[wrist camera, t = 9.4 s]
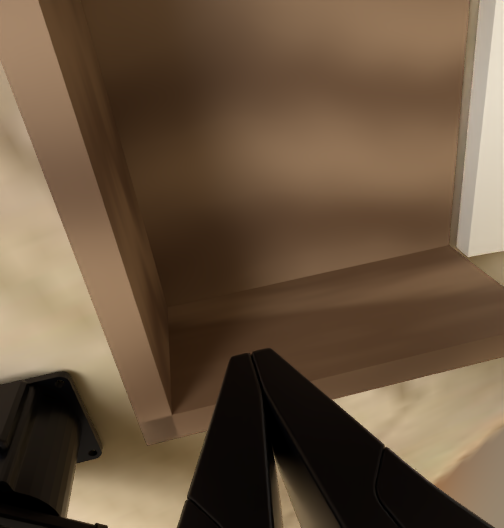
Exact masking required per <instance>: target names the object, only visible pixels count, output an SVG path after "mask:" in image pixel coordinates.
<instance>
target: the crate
mask: <svg viewBox="0 0 504 528" xmlns="http://www.w3.org/2000/svg"><path fill="white" fill-rule="evenodd" d="M469 4H470V0H0V60H1V63H2V65H3V68H4V71H5V73H6V76H7V79H8V81H9V84H10V86H11V89H12V92H13V94H14V97H15V100H16V102H17V105H18V108H19V110H20V113H21V115H22V118H23V121H24V123H25V126H26V129H27V131H28V134H29V136H30V139H31V142H32V144H33V147H34V150H35V152H36V155H37V158H38V160H39V163H40V165H41V168H42V171H43V173H44V176H45V179H46V181H47V184H48V186H49V189H50V192H51V194H52V197H53V200H54V202H55V205H56V208H57V210H58V213H59V215H60V218H61V221H62V223H63V226H64V229H65V231H66V234H67V236H68V239H69V242H70V244H71V247H72V250H73V252H74V255H75V258H76V260H77V263H78V265H79V268H80V271H81V273H82V276H83V279H84V281H85V284H86V286H87V289H88V292H89V294H90V297H91V300H92V302H93V305H94V308H95V310H96V313H97V315H98V318H99V321H100V323H101V326H102V329H103V331H104V334H105V336H106V339H107V342H108V344H109V347H110V350H111V352H112V355H113V358H114V360H115V363H116V365H117V368H118V371H119V373H120V376H121V379H122V381H123V384H124V386H125V389H126V392H127V394H128V397H129V400H130V402H131V405H132V408H133V410H134V413H135V415H136V418H137V421H138V423H139V426H140V429H141V431H142V434H143V436H144V439H145V442H146V444H147V446H148V445H152V444H156V443H160V442H164V441H168V440H172V439H176V438H180V437H184V436H188V435H192V434H196V433H200V432H204V431H207V430H208V427H209V424H210V421H211V418H212V414H213V411H214V408H215V405H216V401H217V398H218V395H219V392H220V389H221V385H222V382H223V379H224V376H225V372H226V369H227V366H228V363H229V360H230V358H231V357H232V356H235V355H239V354H243V353H250V354H252V352H253V351H256V350H260V349H265V348H272V349H273V350H274V351H275V352H276V353H278V354H279V355H280V356H281V357H282V358H284V359H285V360H286V361H287V362H288V363H289V364H291V365H292V366H293V367H294V368H295V369H296V370H298V371H299V372H300V373H301V374H302V375H303V376H305V377H306V378H307V379H308V380H309V381H310V382H312V383H313V384H314V385H315V386H316V387H317V388H319V389H320V390H321V391H322V392H323V393H324V394H326V395H327V396H328V397H329V398H330V399H331V400H332V399H336V398H340V397H344V396H348V395H352V394H356V393H360V392H364V391H368V390H372V389H376V388H380V387H384V386H388V385H392V384H396V383H400V382H404V381H408V380H412V379H416V378H420V377H424V376H428V375H432V374H436V373H440V372H444V371H448V370H452V369H456V368H461V367H465V366H469V365H473V364H477V363H481V362H485V361H489V360H493V359H497V358H501V357H504V287H503V286H502V285H500V284H499V283H498V282H496V281H495V280H494V279H492V278H491V277H490V276H489V275H487V274H486V273H485V272H483V271H482V270H481V269H479V268H478V267H477V266H475V265H474V264H473V263H471V262H470V261H469V260H468V259H466V258H465V257H464V256H462V255H461V254H460V253H458V252H457V251H456V250H454V249H453V248H452V247H451V246H449V237H450V225H451V213H452V202H453V190H454V179H455V167H456V155H457V144H458V132H459V120H460V109H461V97H462V85H463V74H464V62H465V50H466V39H467V27H468V15H469Z"/></svg>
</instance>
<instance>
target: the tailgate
mask: <svg viewBox="0 0 504 528" xmlns="http://www.w3.org/2000/svg"><path fill="white" fill-rule="evenodd" d="M456 247H457V248H458V249H459V250H460V251H461V252H462V253H463V254H465V255H466V256H467V257H472V256H477V255H483V254H489V253H494V252H500V251H504V0H480V3H479V13H478V24H477V34H476V45H475V55H474V66H473V76H472V87H471V97H470V108H469V118H468V129H467V139H466V150H465V160H464V171H463V181H462V192H461V202H460V213H459V223H458V234H457V244H456Z"/></svg>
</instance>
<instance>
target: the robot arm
mask: <svg viewBox="0 0 504 528" xmlns="http://www.w3.org/2000/svg"><path fill="white" fill-rule="evenodd" d="M58 380H62V381H64V382H61V383H60V382H58ZM92 450H93V451H92ZM273 452H274V453H273ZM101 454H102V444H101V442H100V439H99V437H98V435H97V433H96V431H95V428H94V426H93V424H92V422H91V420H90V417H89V415H88V413H87V411H86V409H85V406H84V404H83V402H82V400H81V398H80V395H79V393H78V391H77V389H76V387H75V384H74V382H73V380H72V378H71V376H70V375H69V374H68V373H66V372H55V373H51V374H46V375H42V376H38V377H33V378H29V379H25V380H19V381H15V382H11V383H6V384H2V385H0V528H108V526H107V525H103V524H99V523H96V524H95V525H93V524H89V523H85V522H81V521H77V520H72V519H68V518H67V512H68V507H69V501H70V496H71V490H72V484H73V479H74V473H75V468H76V463H80V462H84V461H88V460H92V459H96V458H98V457H100V456H101ZM274 456H275V459H276V463H277V465H278V468H279V471H280V474H281V476H282V479H283V482H284V484H285V487H286V489H287V492H288V494H289V497H290V500H291V502H292V505H293V507H294V510H295V513H296V515H297V518H298V520H299V523H300V526H301V528H495V527H493V526H492V525H490V524H489V523H487V522H486V521H484V520H483V519H481V518H480V517H478V516H477V515H476V514H474V513H473V512H471V511H470V510H468V509H467V508H465V507H464V506H462V505H461V504H460V503H458V502H457V501H455V500H454V499H452V498H451V497H450V496H448V495H447V494H446V493H444V492H443V491H442V490H440V489H439V488H437V487H436V486H435V485H433V484H432V483H430V482H429V481H428V480H427V479H425V478H424V477H423V476H422V475H420V474H419V473H418V472H417V471H415V470H414V469H413V468H412V467H410V466H409V465H408V464H407V463H405V462H404V461H403V460H402V459H401V458H400V457H398V456H397V455H396V454H395V453H394V452H393V451H391V450H390V449H389V448H388V447H385V446H384V444H383V443H382V442H381V441H379V440H378V439H377V438H376V437H375V436H374V435H372V434H371V433H370V432H369V431H368V430H367V429H365V428H364V427H363V426H362V425H361V424H360V423H358V422H357V421H356V420H355V419H354V418H353V417H351V416H350V415H349V414H348V413H347V412H346V411H344V410H343V409H342V408H341V407H340V406H339V405H337V404H336V403H335V402H334V401H333V400H331V399H330V398H329V397H328V396H327V395H326V394H324V393H323V392H322V391H321V390H320V389H319V388H317V387H316V386H315V385H314V384H313V383H312V382H310V381H309V380H308V379H307V378H306V377H305V376H303V375H302V374H301V373H300V372H299V371H298V370H296V369H295V368H294V367H293V366H292V365H291V364H289V363H288V362H287V361H286V360H285V359H284V358H282V357H281V356H280V355H279V354H278V353H276V352H275V351H274V350H273V349H272V348H265V349H260V350H256V351H253V352H252V354H250V353H243V354H239V355H235V356H232V357H231V358H230V360H229V363H228V366H227V369H226V372H225V376H224V379H223V382H222V385H221V389H220V392H219V395H218V398H217V401H216V405H215V408H214V411H213V414H212V418H211V421H210V424H209V427H208V430H207V434H206V437H205V440H204V443H203V447H202V450H201V453H200V456H199V459H198V463H197V466H196V469H195V472H194V476H193V479H192V482H191V485H190V488H189V492H188V495H187V499H188V500H186V501H185V504H184V507H183V510H182V514H181V517H180V520H179V523H178V526H177V528H283V520H282V512H281V504H280V496H279V487H278V479H277V472H276V465H275V459H274Z"/></svg>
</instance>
